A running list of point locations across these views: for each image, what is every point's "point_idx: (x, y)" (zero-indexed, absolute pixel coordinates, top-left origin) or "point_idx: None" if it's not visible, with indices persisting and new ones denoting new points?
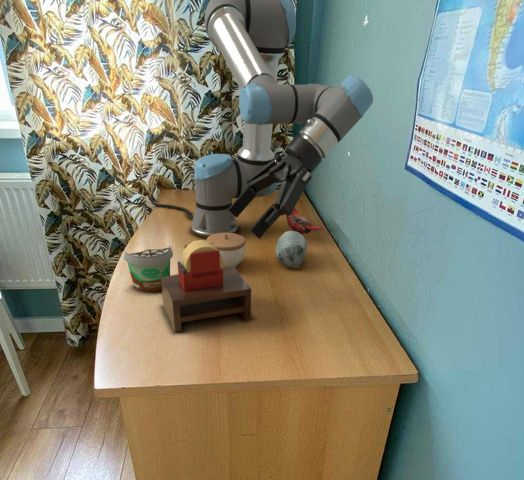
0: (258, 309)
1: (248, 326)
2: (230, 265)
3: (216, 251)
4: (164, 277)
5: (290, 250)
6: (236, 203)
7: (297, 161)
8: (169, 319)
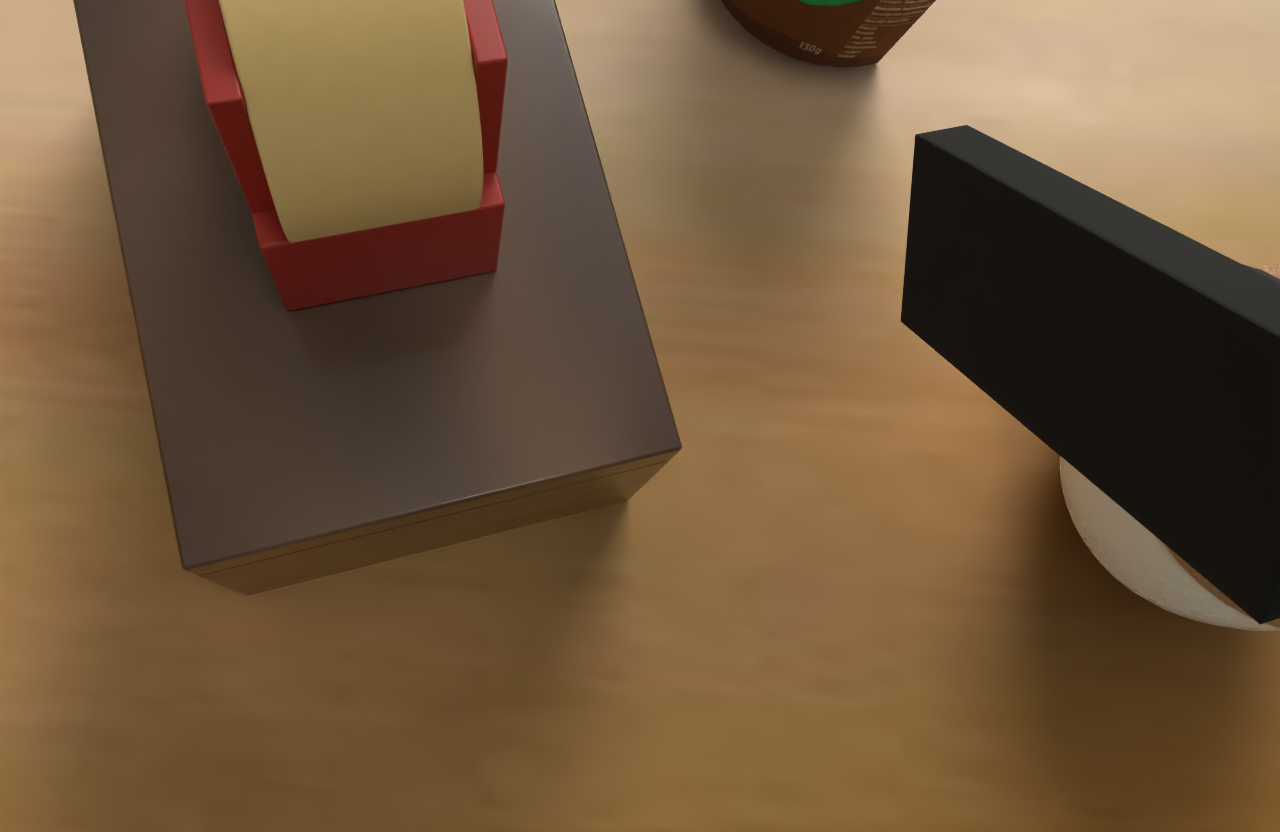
0: (396, 678)
1: (136, 567)
2: (1066, 503)
3: (201, 68)
4: None
5: None
6: (1022, 221)
7: None
8: None
